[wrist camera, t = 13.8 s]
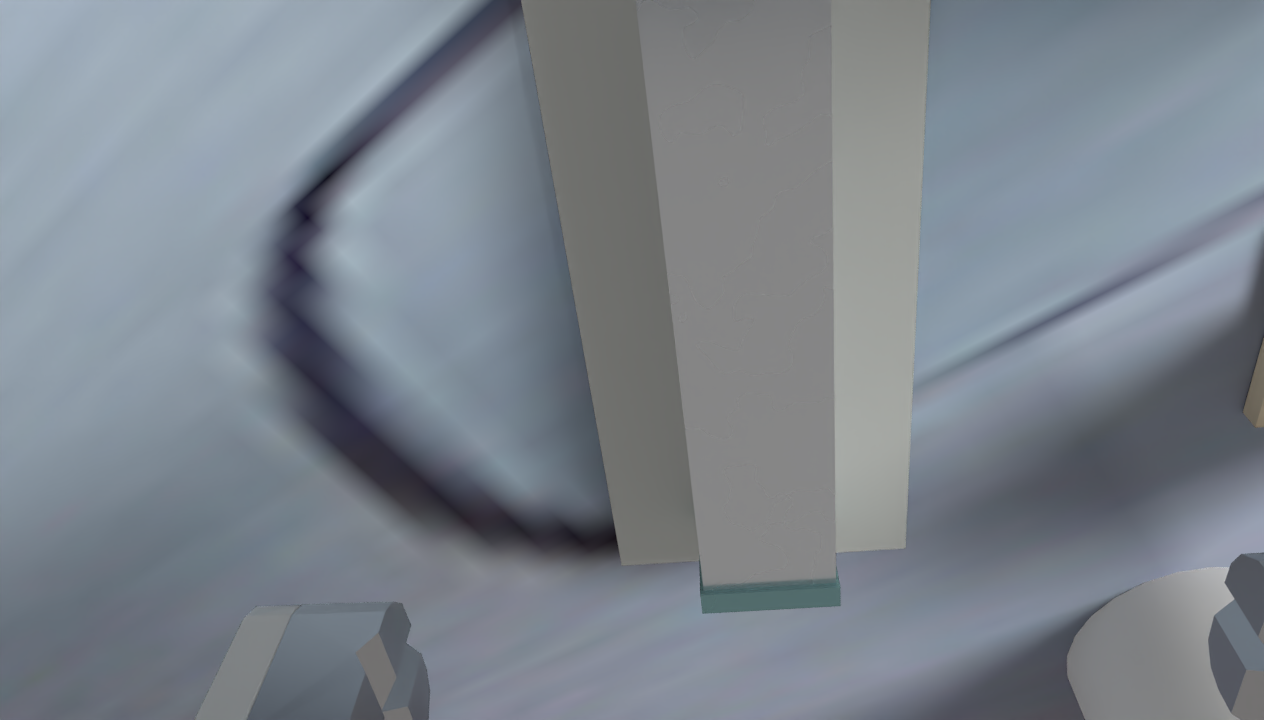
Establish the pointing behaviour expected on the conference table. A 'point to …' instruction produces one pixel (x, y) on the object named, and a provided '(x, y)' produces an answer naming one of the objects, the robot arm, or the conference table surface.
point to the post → (1256, 393)
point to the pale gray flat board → (637, 276)
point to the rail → (750, 285)
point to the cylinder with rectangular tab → (1152, 652)
